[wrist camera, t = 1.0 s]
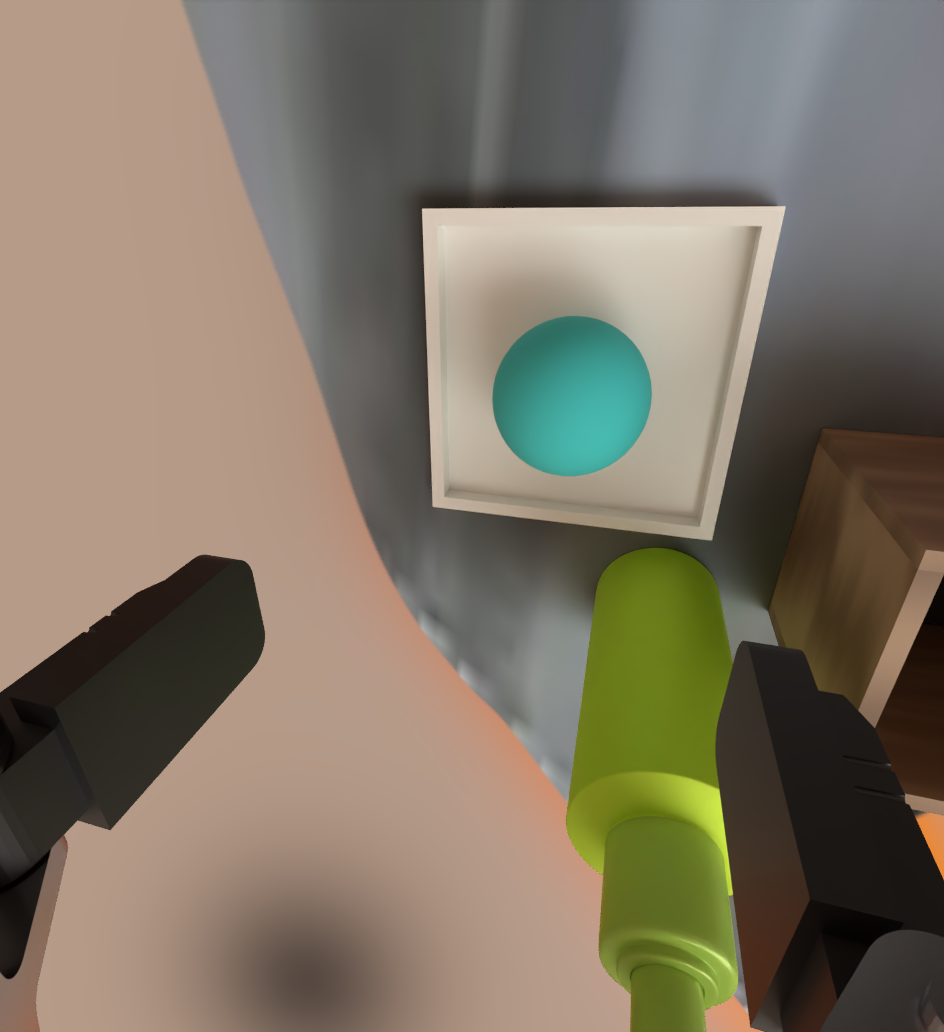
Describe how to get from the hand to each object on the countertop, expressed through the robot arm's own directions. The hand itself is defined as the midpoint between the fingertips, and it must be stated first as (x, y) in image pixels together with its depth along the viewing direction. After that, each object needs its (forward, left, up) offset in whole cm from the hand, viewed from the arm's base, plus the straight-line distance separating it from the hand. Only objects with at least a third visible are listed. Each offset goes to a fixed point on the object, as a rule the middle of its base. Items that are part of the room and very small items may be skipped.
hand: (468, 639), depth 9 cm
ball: (0, 0, -15) cm, 15 cm away
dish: (0, 0, -18) cm, 18 cm away
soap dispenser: (+11, +5, -18) cm, 22 cm away
